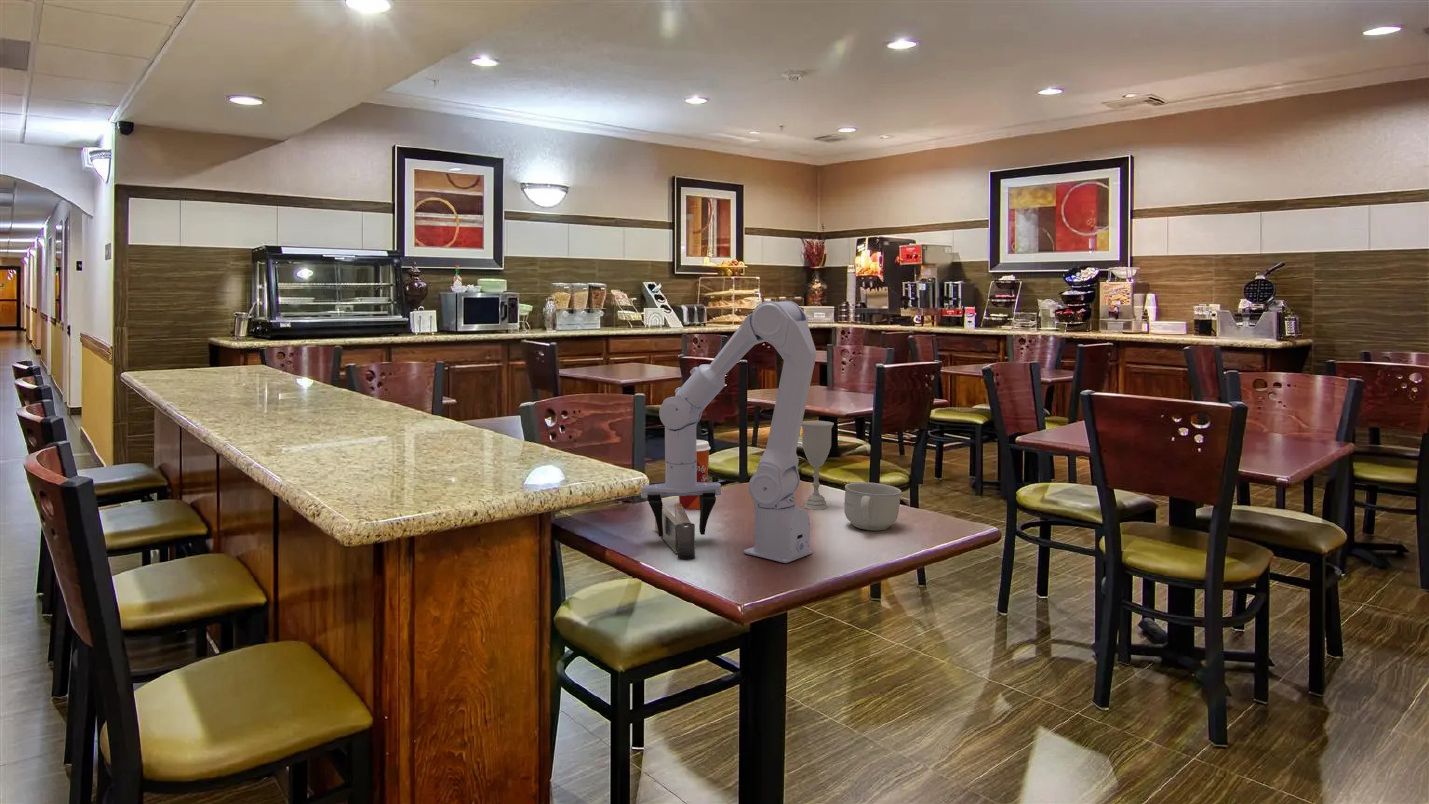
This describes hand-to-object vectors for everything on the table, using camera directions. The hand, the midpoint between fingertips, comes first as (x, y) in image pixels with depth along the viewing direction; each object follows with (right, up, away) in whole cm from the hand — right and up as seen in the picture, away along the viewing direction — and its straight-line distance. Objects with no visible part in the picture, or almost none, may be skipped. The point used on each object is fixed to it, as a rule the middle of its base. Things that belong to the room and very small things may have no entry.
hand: (681, 534), depth 167 cm
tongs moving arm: (-2, -1, 0) cm, 3 cm away
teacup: (+36, 0, +9) cm, 37 cm away
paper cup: (+1, +2, +27) cm, 27 cm away
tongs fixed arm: (0, -2, -1) cm, 2 cm away
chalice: (+28, +2, +27) cm, 38 cm away
